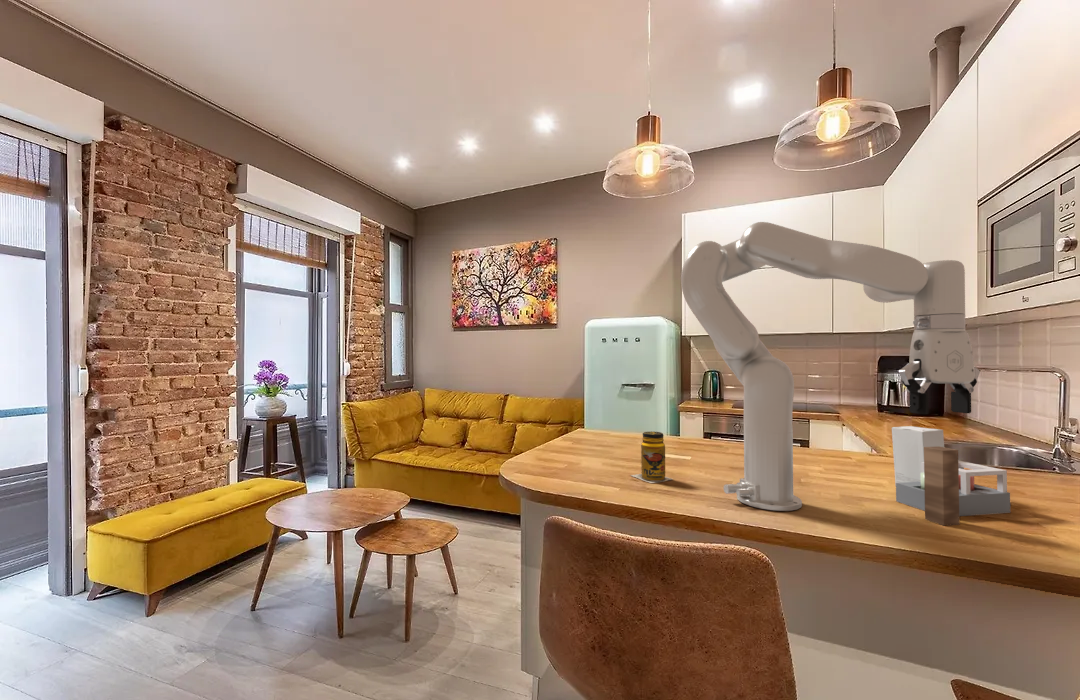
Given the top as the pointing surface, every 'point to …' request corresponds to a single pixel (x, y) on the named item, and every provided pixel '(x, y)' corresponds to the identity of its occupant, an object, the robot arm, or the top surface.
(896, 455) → the skincare box
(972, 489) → the plunger
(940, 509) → the wooden block
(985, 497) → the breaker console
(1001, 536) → the top surface
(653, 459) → the condiment
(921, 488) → the on button
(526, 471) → the top surface
